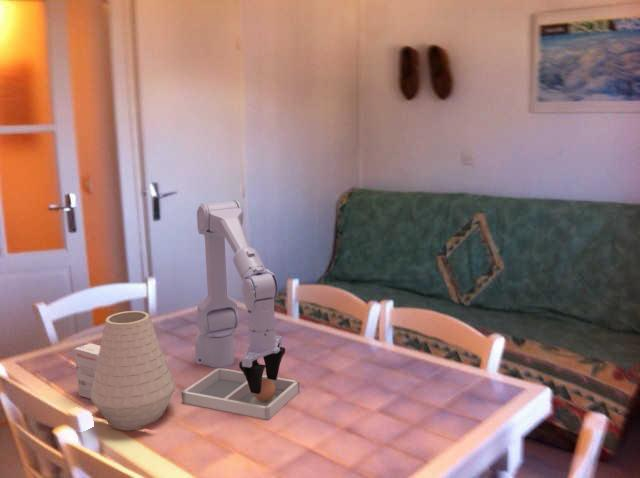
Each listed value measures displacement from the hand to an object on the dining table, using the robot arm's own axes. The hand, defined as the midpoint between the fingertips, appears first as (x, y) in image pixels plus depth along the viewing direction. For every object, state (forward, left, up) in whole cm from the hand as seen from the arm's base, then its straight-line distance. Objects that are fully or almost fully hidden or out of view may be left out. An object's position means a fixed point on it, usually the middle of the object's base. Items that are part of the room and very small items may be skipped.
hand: (264, 385), depth 145 cm
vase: (-23, -16, -5) cm, 28 cm away
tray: (-6, 0, -5) cm, 8 cm away
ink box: (-39, -10, -5) cm, 40 cm away
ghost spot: (0, 0, -4) cm, 4 cm away
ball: (0, 0, -4) cm, 4 cm away
